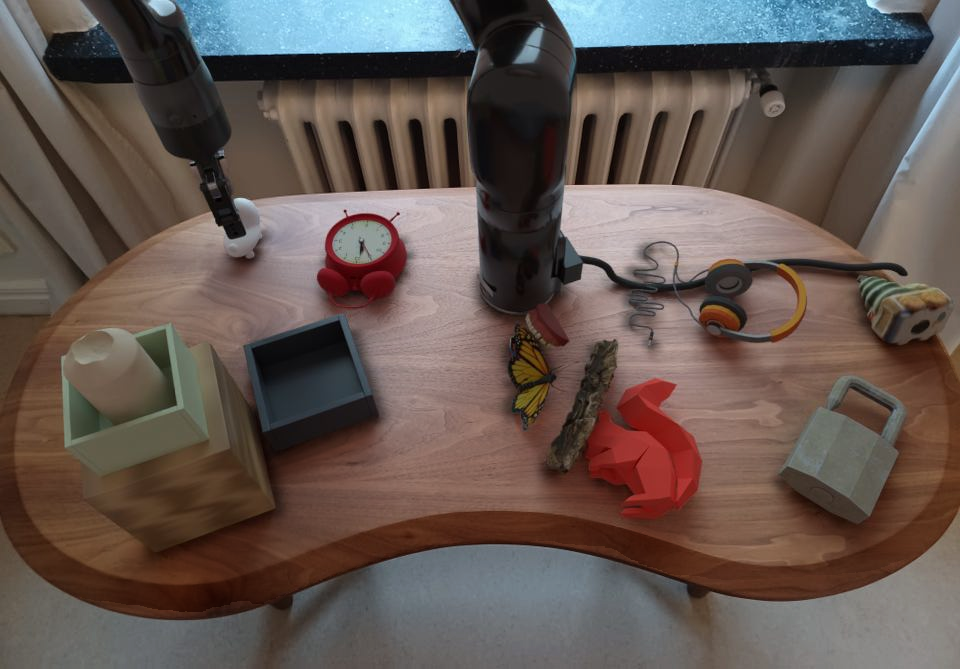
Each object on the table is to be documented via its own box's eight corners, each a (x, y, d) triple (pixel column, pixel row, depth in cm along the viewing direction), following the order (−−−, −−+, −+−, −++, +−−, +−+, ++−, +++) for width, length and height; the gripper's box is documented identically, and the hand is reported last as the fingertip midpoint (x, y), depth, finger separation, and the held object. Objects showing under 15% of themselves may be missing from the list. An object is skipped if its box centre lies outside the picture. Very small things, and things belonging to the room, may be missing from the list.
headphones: (640, 225, 86) (814, 233, 78) (642, 254, 90) (808, 264, 82) (611, 328, 77) (804, 349, 69) (615, 355, 81) (798, 378, 73)
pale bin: (195, 358, 62) (170, 322, 58) (209, 439, 57) (184, 408, 53) (94, 390, 61) (60, 356, 56) (100, 477, 56) (64, 448, 51)
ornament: (941, 341, 78) (883, 288, 85) (969, 300, 74) (905, 248, 81) (882, 351, 76) (828, 296, 83) (908, 310, 72) (849, 256, 79)
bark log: (592, 349, 79) (590, 310, 74) (633, 359, 77) (634, 319, 72) (539, 481, 69) (531, 446, 64) (584, 495, 67) (580, 460, 62)
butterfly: (591, 427, 68) (559, 421, 65) (528, 445, 74) (496, 440, 71) (578, 320, 73) (548, 309, 70) (519, 345, 79) (489, 335, 75)
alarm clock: (410, 206, 87) (388, 276, 76) (414, 246, 92) (393, 318, 81) (332, 203, 88) (298, 272, 77) (339, 243, 92) (308, 314, 81)
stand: (254, 411, 75) (209, 340, 63) (276, 508, 68) (230, 448, 57) (143, 449, 73) (76, 382, 61) (155, 552, 66) (82, 500, 55)
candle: (162, 444, 57) (105, 383, 48) (103, 433, 57) (37, 371, 49) (191, 388, 60) (141, 322, 52) (135, 378, 61) (77, 312, 52)
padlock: (774, 478, 68) (831, 377, 75) (853, 527, 66) (904, 417, 72) (790, 463, 65) (848, 358, 72) (873, 514, 62) (925, 400, 69)
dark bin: (351, 335, 80) (344, 312, 77) (379, 415, 74) (372, 394, 70) (255, 367, 78) (242, 345, 75) (275, 452, 72) (262, 432, 68)
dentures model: (543, 335, 70) (513, 381, 75) (575, 334, 72) (544, 379, 78) (523, 296, 73) (496, 343, 79) (555, 296, 75) (526, 342, 81)
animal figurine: (686, 389, 74) (689, 362, 71) (707, 518, 65) (713, 496, 61) (580, 394, 76) (578, 368, 72) (586, 520, 67) (584, 499, 63)
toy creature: (274, 223, 92) (260, 189, 86) (255, 268, 87) (240, 234, 82) (241, 221, 92) (226, 186, 87) (221, 265, 87) (204, 232, 82)
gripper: (229, 134, 68) (273, 243, 82) (208, 58, 76) (251, 169, 89) (154, 153, 67) (210, 261, 80) (140, 74, 74) (193, 184, 88)
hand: (231, 212), depth 85 cm, fingers open, 8 cm apart
